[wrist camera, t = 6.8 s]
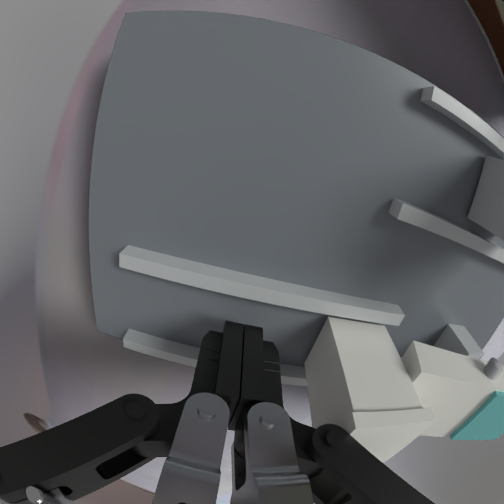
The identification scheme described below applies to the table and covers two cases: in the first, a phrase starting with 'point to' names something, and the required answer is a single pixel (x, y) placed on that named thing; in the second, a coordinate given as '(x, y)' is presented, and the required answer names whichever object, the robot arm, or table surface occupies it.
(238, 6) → the table surface
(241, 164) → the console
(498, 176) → the grey slider
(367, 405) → the white slider
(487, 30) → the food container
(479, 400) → the rocker
